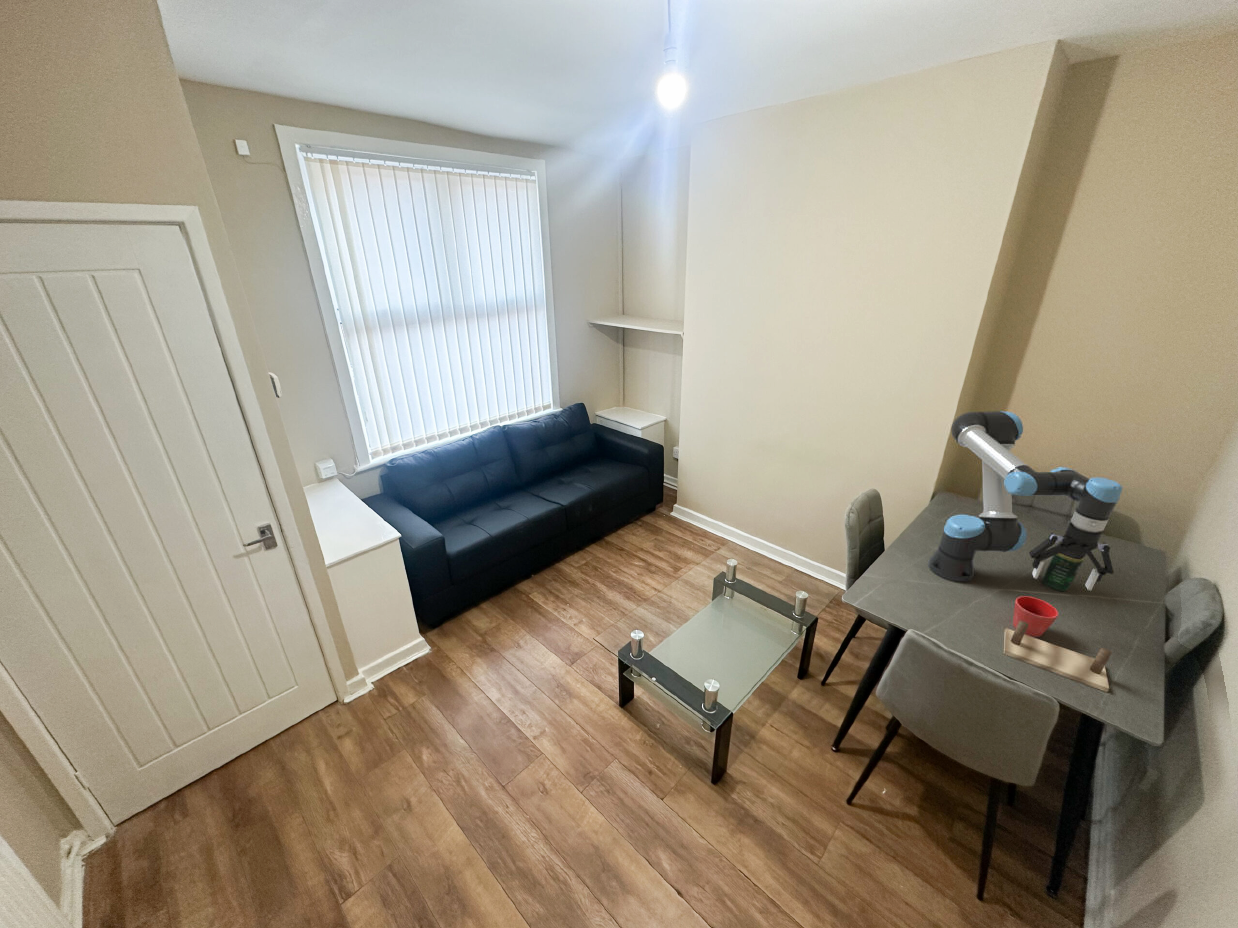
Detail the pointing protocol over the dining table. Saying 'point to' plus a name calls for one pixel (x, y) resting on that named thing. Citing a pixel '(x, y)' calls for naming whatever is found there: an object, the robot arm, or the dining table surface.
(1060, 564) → the coffee jar
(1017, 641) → the rack
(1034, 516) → the dining table surface
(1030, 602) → the flower pot
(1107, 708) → the dining table surface
